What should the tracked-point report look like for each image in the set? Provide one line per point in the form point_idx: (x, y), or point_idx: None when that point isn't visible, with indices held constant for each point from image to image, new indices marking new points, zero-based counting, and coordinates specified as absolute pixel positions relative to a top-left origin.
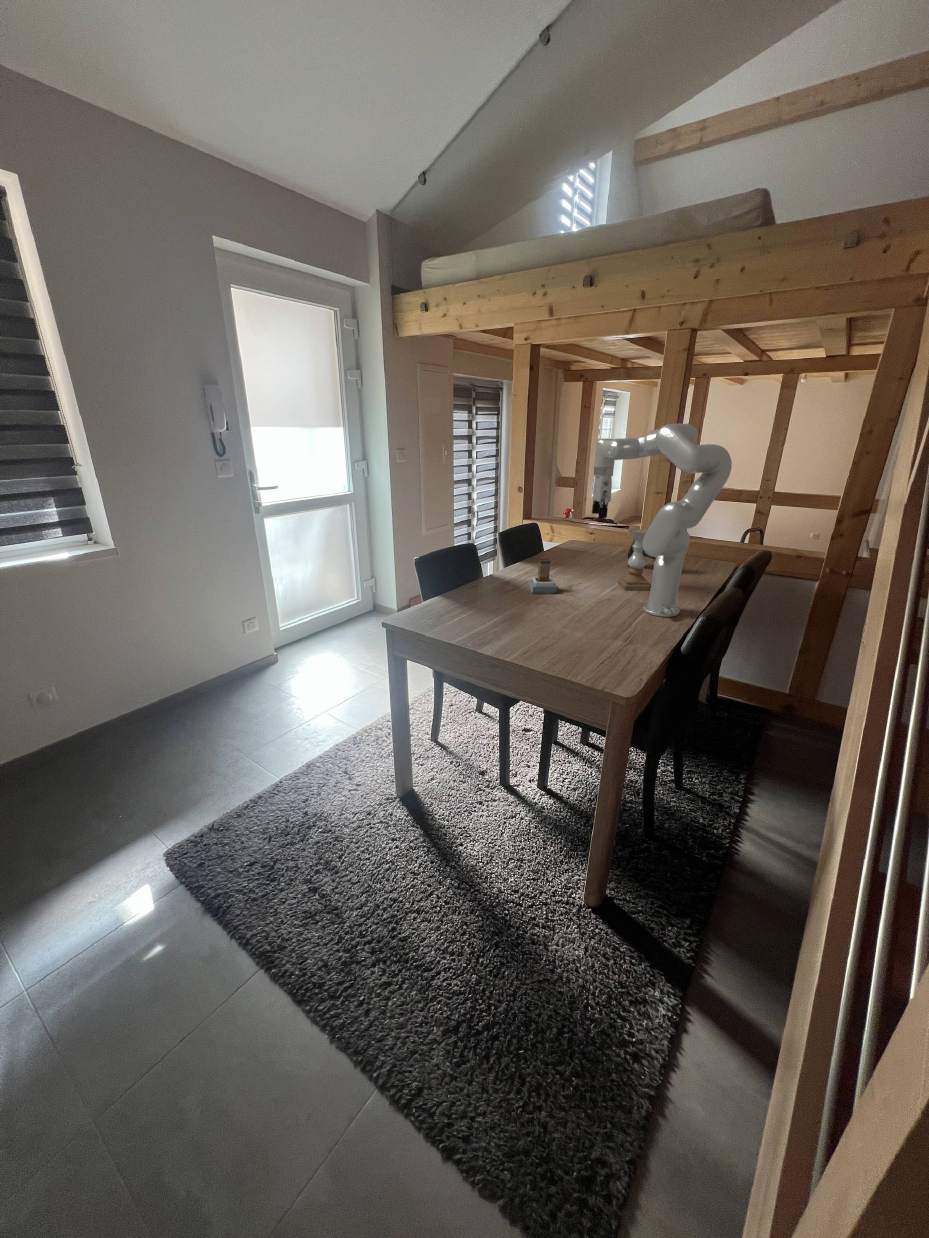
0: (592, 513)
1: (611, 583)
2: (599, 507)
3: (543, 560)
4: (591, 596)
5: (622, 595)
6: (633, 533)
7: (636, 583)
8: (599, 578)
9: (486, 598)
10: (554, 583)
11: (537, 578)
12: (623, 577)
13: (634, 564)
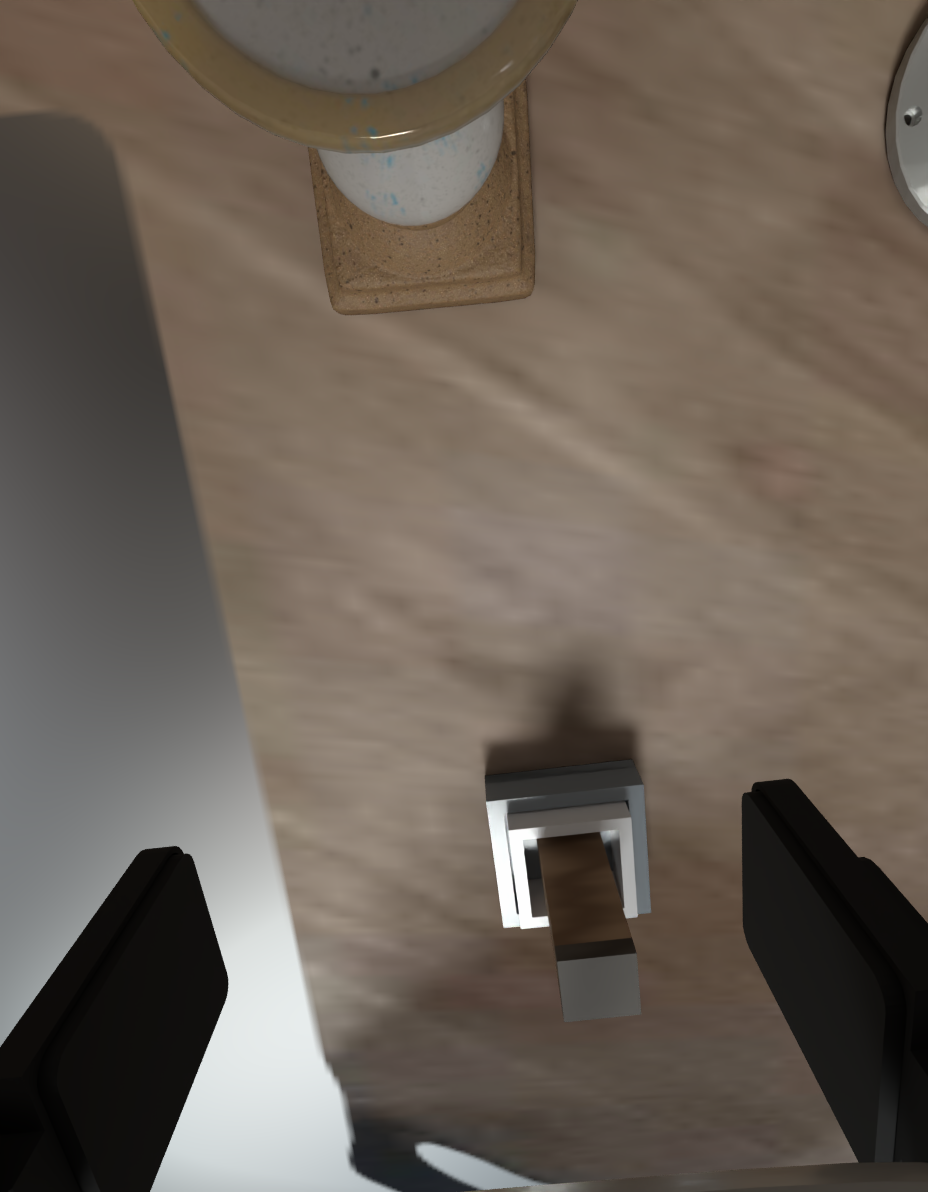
0: (221, 987)
1: (367, 370)
2: (115, 992)
3: (616, 995)
4: (678, 559)
5: (653, 337)
6: (529, 66)
7: (518, 181)
8: (250, 444)
9: (714, 1072)
10: (572, 795)
11: (529, 899)
12: (394, 275)
13: (494, 163)
